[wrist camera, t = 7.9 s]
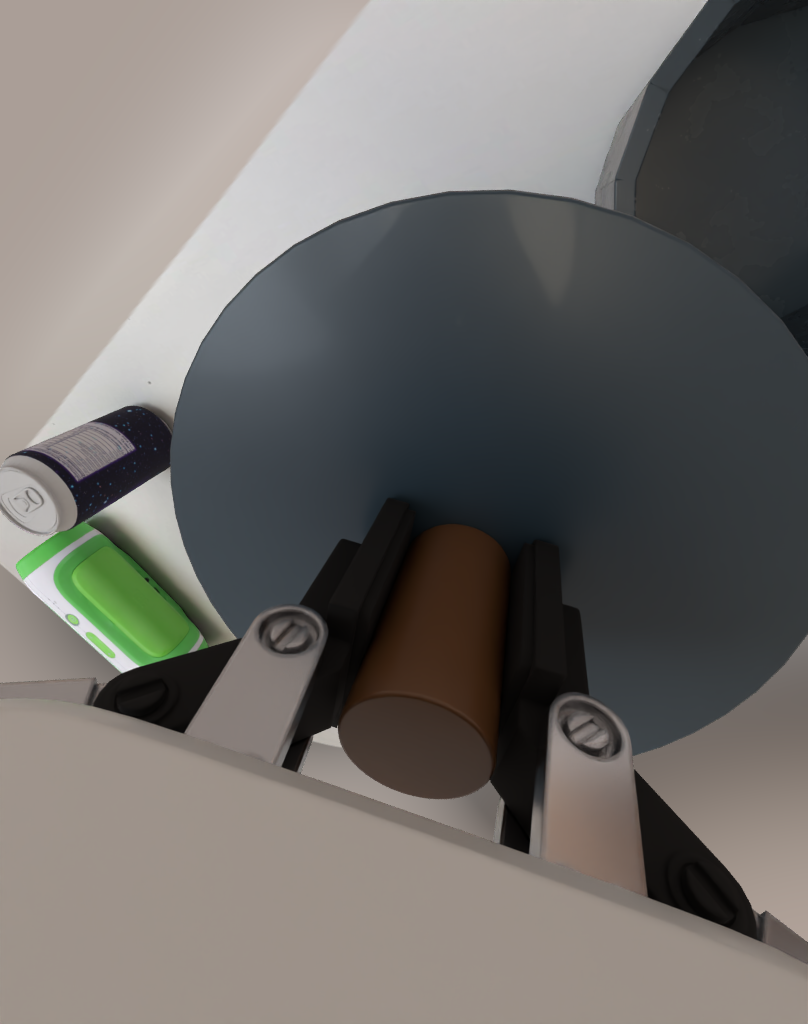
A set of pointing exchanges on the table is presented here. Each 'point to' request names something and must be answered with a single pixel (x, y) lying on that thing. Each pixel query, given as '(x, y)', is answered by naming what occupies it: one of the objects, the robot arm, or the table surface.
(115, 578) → the speaker
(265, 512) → the pot lid
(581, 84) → the table surface
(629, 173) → the pot
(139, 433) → the beverage can
